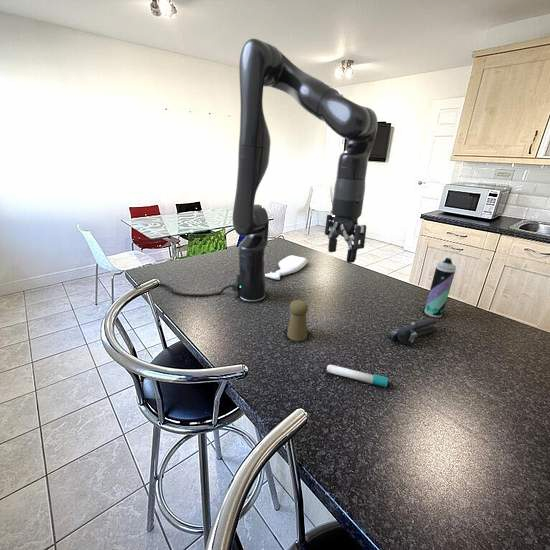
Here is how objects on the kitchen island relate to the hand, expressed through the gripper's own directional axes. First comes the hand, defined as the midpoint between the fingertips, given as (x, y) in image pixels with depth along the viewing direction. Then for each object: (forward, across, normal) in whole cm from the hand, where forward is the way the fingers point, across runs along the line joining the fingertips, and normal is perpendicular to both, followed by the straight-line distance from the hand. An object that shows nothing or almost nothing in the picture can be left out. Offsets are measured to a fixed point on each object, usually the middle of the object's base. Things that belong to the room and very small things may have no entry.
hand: (340, 256), depth 80 cm
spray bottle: (+24, -46, +7) cm, 52 cm away
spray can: (+24, +6, +37) cm, 45 cm away
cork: (+24, -1, -12) cm, 26 cm away
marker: (+24, +20, -7) cm, 32 cm away
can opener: (+24, +13, +21) cm, 34 cm away
